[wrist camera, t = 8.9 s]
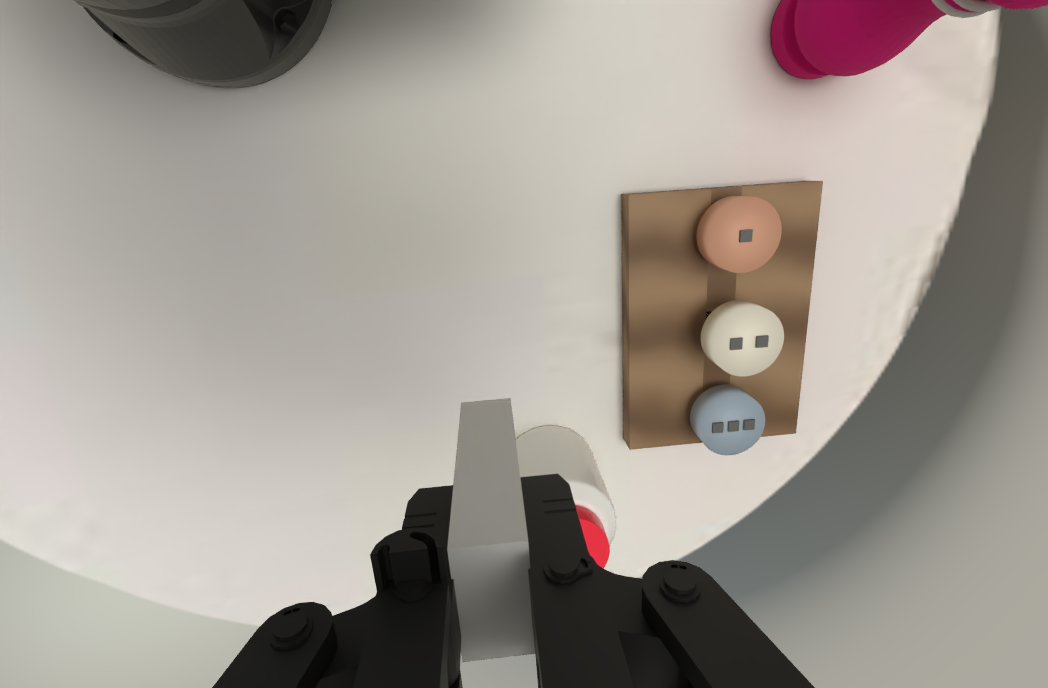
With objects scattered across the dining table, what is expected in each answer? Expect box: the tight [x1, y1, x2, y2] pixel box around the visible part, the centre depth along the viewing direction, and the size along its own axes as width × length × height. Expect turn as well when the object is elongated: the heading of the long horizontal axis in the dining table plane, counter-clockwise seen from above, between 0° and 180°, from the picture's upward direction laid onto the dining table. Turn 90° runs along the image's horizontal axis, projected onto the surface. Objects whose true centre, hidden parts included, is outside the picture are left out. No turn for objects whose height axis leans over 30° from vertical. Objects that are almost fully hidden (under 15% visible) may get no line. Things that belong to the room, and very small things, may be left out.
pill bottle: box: [516, 425, 616, 568], centre depth 39 cm, size 8×8×11 cm
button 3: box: [690, 384, 765, 455], centre depth 41 cm, size 5×5×4 cm
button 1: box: [697, 196, 782, 273], centre depth 36 cm, size 5×5×4 cm
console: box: [621, 181, 823, 449], centre depth 40 cm, size 20×14×2 cm
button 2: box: [701, 300, 784, 377], centre depth 37 cm, size 5×5×4 cm
